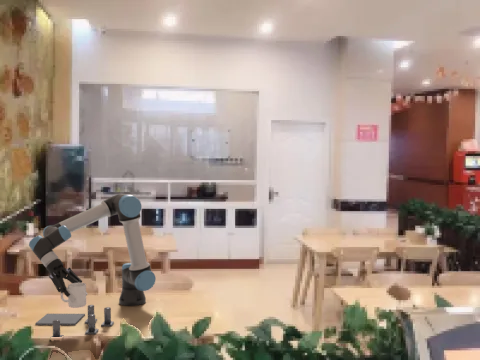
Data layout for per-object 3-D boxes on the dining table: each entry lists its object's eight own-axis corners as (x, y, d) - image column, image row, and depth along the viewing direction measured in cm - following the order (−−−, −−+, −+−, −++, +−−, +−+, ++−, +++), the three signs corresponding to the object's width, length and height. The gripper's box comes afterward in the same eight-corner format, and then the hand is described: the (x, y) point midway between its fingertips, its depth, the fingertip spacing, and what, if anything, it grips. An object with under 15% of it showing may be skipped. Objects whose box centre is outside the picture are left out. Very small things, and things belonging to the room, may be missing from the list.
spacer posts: (115, 320, 263) (115, 304, 263) (100, 341, 234) (100, 322, 233) (70, 320, 263) (70, 304, 263) (49, 340, 234) (48, 322, 234)
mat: (84, 315, 272) (84, 313, 272) (75, 325, 256) (75, 323, 256) (47, 315, 272) (47, 313, 272) (35, 325, 256) (35, 323, 256)
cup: (84, 307, 244) (83, 286, 243) (58, 308, 243) (57, 287, 242) (88, 302, 252) (87, 282, 251) (63, 303, 251) (62, 282, 251)
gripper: (62, 263, 262) (89, 297, 258) (32, 272, 243) (61, 309, 238) (70, 254, 260) (97, 287, 256) (41, 262, 241) (70, 299, 236)
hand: (80, 298), depth 247 cm, fingers closed on cup, 8 cm apart
